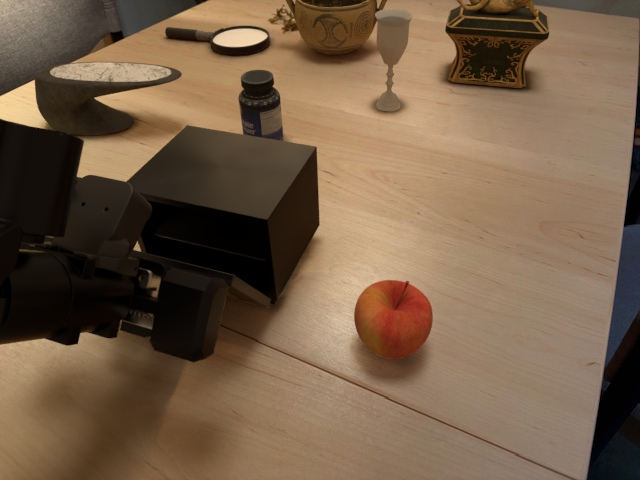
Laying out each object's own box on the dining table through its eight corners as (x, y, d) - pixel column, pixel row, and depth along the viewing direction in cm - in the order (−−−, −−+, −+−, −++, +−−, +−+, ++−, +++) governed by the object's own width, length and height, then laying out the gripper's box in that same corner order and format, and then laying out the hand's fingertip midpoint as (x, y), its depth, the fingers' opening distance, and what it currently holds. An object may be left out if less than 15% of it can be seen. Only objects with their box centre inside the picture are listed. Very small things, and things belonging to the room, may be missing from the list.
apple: (338, 345, 53) (337, 290, 47) (385, 305, 56) (390, 250, 51) (395, 389, 49) (402, 335, 43) (442, 343, 52) (453, 288, 47)
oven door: (255, 350, 53) (214, 337, 43) (128, 314, 57) (63, 294, 47) (271, 299, 54) (234, 274, 44) (145, 266, 58) (86, 237, 48)
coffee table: (37, 134, 86) (14, 79, 80) (64, 108, 93) (44, 56, 86) (183, 142, 83) (170, 85, 77) (200, 115, 90) (190, 61, 83)
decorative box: (533, 69, 99) (562, -47, 86) (534, 92, 92) (566, -31, 79) (426, 61, 103) (438, -51, 90) (420, 82, 96) (432, -36, 83)
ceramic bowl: (275, 63, 105) (267, -18, 95) (290, 32, 117) (285, -42, 107) (387, 67, 102) (392, -16, 92) (391, 34, 114) (395, -42, 104)
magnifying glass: (182, 27, 121) (180, 17, 120) (278, 36, 115) (278, 26, 114) (153, 47, 113) (151, 37, 111) (255, 59, 107) (254, 48, 105)
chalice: (411, 110, 89) (420, 18, 79) (380, 116, 87) (385, 24, 77) (395, 94, 93) (401, 6, 83) (365, 100, 92) (368, 11, 82)
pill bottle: (238, 141, 83) (227, 74, 75) (271, 129, 85) (264, 63, 78) (256, 158, 79) (248, 89, 72) (291, 145, 81) (286, 77, 74)
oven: (279, 314, 56) (267, 219, 47) (150, 280, 60) (118, 188, 52) (320, 237, 65) (316, 146, 56) (206, 212, 69) (186, 124, 61)
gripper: (189, 199, 31) (278, 224, 46) (-46, 149, 36) (102, 187, 51) (148, 381, 31) (250, 348, 46) (-82, 307, 36) (77, 298, 51)
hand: (167, 289), depth 49 cm, fingers closed, pressing on oven door
